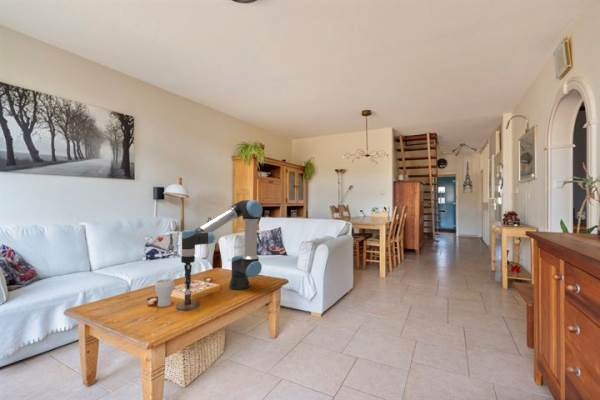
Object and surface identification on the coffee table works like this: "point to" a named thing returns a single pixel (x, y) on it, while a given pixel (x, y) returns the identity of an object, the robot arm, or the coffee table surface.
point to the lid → (187, 303)
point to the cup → (164, 291)
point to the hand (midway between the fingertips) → (187, 290)
